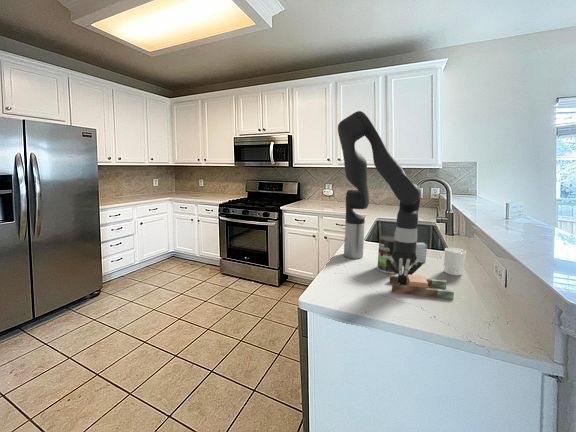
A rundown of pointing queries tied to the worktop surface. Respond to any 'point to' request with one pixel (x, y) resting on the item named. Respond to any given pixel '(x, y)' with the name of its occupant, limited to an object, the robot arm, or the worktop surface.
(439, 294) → the walnut chute
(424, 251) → the medicine box
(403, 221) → the robot arm
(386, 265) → the coffee can
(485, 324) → the worktop surface
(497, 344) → the worktop surface
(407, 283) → the terracotta block
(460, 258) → the white cup
